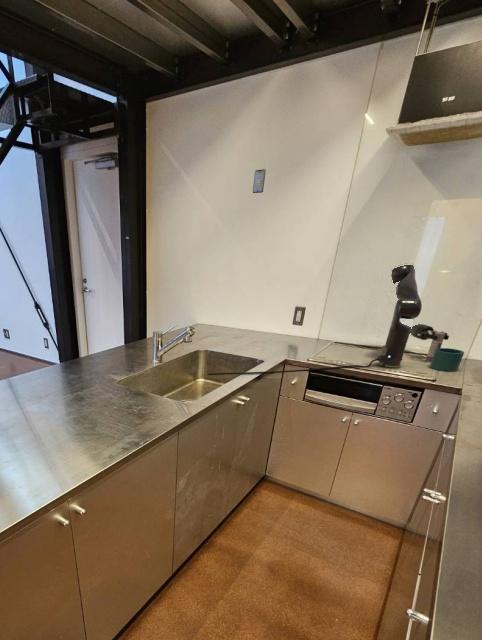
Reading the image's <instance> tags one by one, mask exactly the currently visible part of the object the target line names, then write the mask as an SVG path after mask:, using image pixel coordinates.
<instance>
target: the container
mask: <svg viewBox="0 0 482 640" xmlns="http://www.w3.org/2000/svg"><path fill="white" fill-rule="evenodd" d="M441 332H442V331H437V332H436V333H435V334H434V335H436V336H438V337H437V340H433V339H431V343H430V346H429V349H428V352H427V355H426V358H425V362H428V363H431V362H432V359H433V356H434V353H435V350H436V349H438V348H442V345H443V342H444V340H445V339H444V336H445V333H446V332H445V333H441Z"/></svg>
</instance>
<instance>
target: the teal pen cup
mask: <svg viewBox="0 0 482 640" xmlns="http://www.w3.org/2000/svg"><path fill="white" fill-rule="evenodd" d="M464 354H465V351H463V350H461V349H457V348H449V347H446V348H445V347H441V348H438V349H436V350H435V353H434V356H433V359H432V362H430V368H431V369H432V370H437V371H441V372H457V371H458V370H459V367H460V365H461V363H462V360H463V357H464Z"/></svg>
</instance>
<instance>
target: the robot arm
mask: <svg viewBox="0 0 482 640" xmlns="http://www.w3.org/2000/svg"><path fill="white" fill-rule="evenodd" d="M413 265H414V264H413ZM413 265H404V266H400V265H399V266H400V267H397V268H394V269H393V270H392V269H391V271H392V274H391V273H390V278H391V277H392V280H393V283H394V284H395V283H396V282H399V281H400V282H399V283H398V285H397V287H396V295H397V298H398V299H399V300H398V301H397V303H396V302H395V306H394V309H393V313H392V319H391V322H390V326H389V330H388V333H387V337H386V340H385V344H384V345H383V346H382V349H381V353H380V355H377V357H376V358H375V359H372V360H370V362H369V364H368V365H360V364H359V365H358V364H351V365H350V364H349V365H339V366H328V367H318V368H307V369H291V370H290V369H289V370H272V371H270V370H269V371H246V372H245V371H244V372H242V371H241V372H239V371H238V372H214V373H213V372H208V373H207V375H208V376H220V375H223V376H224V375H253V374H254V375H255V374H256V375H257V374H259V375H260V374H281V373H282V374H283V373H296V372H298V373H299V372H309V371H322V370H334V369H343V368H355V367H357V368H369V367H371V365H372V364H373V363H374V362H378V365H379V366H380V367H383V368H389V369H391V368H393V369H394V368H395V369H396V368H400V367H401V364H402V361H403V356H404V353H405V351H406V347H407V343H408V341H409V337H410V336H411V335H412V336H411V337H413V338H415V339H419V340H422V341H427V340H437V337H438V336H436V335H434V334H435V333H436V332H438V330H434V328H433V327H432V326H430V325H427V324H423V323H418V325H415V326H413V327H412V329H411V327H409V326H407V325H404V324H402V323H401V320H402V319H403V320H405V319H413V320H414V319H416V318H418V317H419V316H420V314H421V312H422V305H423V304H422V299H421V297H420V295H419V292H418V290H419V289H418V284H417V280H416V268H415V269H414V267H415V265H414V266H413ZM392 280H391V281H392ZM440 332H441V333H445V336H444V339H443V340H445V341H448V340H449V338H450V335H448V333H447V332H445V331H440ZM410 333H411V335H409V334H410Z"/></svg>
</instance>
